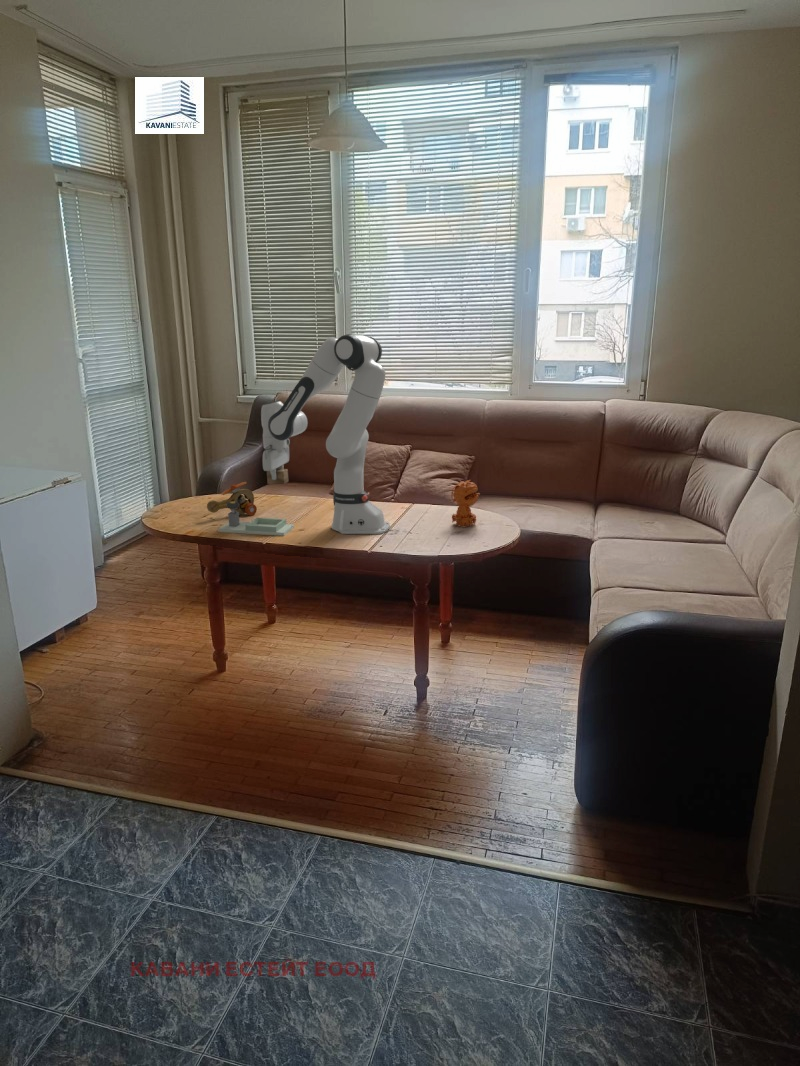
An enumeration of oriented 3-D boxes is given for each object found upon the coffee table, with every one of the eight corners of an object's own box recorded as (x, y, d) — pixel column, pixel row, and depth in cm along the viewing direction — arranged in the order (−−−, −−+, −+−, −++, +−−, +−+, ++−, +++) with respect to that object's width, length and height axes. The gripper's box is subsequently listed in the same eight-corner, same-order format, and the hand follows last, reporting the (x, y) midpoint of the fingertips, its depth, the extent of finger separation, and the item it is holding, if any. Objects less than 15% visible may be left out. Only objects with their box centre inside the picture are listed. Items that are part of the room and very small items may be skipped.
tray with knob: (294, 527, 275) (293, 511, 273) (284, 535, 264) (283, 519, 263) (230, 523, 280) (229, 508, 278) (218, 531, 269) (217, 516, 268)
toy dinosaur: (479, 529, 272) (481, 482, 267) (450, 528, 273) (451, 482, 268) (478, 521, 283) (479, 476, 278) (450, 520, 284) (451, 476, 278)
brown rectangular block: (288, 481, 286) (287, 468, 284) (284, 484, 281) (283, 471, 280) (272, 481, 287) (270, 468, 286) (267, 483, 283) (266, 471, 281)
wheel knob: (241, 514, 274) (240, 500, 272) (236, 517, 270) (235, 503, 268) (230, 514, 275) (229, 500, 273) (225, 517, 271) (224, 503, 269)
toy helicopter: (259, 514, 294) (257, 481, 290) (214, 523, 280) (211, 489, 276) (248, 510, 299) (246, 478, 295) (204, 519, 286) (201, 486, 282)
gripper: (272, 447, 269) (275, 483, 273) (291, 439, 289) (293, 472, 292) (256, 447, 271) (260, 483, 274) (276, 439, 290) (279, 472, 294)
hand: (277, 477), depth 284 cm, fingers closed on brown rectangular block, 5 cm apart
